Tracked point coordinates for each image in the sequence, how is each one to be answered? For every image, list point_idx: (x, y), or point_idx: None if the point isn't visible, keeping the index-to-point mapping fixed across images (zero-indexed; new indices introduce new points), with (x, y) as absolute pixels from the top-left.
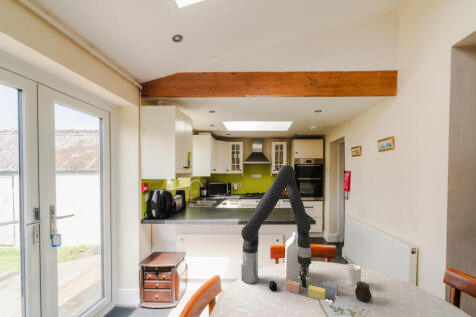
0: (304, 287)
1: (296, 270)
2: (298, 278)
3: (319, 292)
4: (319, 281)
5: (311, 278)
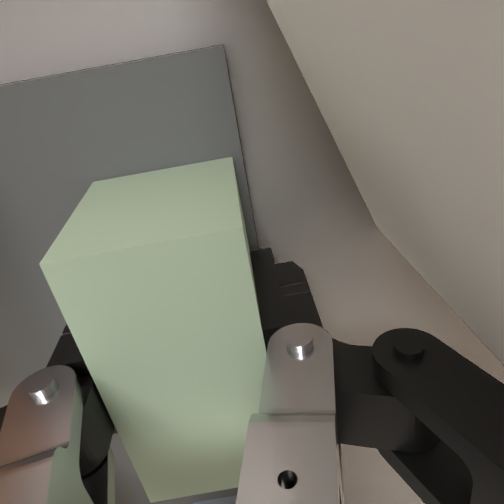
0: None
1: (390, 86)
2: (53, 275)
3: None
4: (492, 375)
5: None
